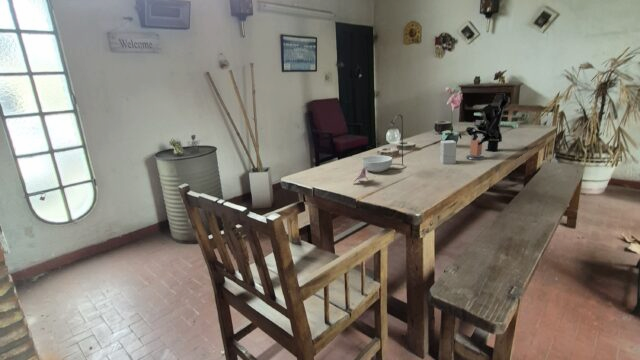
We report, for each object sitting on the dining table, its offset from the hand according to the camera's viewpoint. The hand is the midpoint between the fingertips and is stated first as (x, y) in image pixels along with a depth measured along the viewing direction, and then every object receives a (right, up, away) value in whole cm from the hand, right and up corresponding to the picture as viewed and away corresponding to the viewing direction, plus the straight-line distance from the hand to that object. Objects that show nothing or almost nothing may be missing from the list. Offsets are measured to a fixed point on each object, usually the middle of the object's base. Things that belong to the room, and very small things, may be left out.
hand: (474, 144), depth 201 cm
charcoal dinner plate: (+2, -8, +3) cm, 9 cm away
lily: (-71, -23, -29) cm, 80 cm away
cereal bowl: (-60, -16, -9) cm, 63 cm away
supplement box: (-17, -11, -2) cm, 21 cm away
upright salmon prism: (+2, -6, +3) cm, 7 cm away
